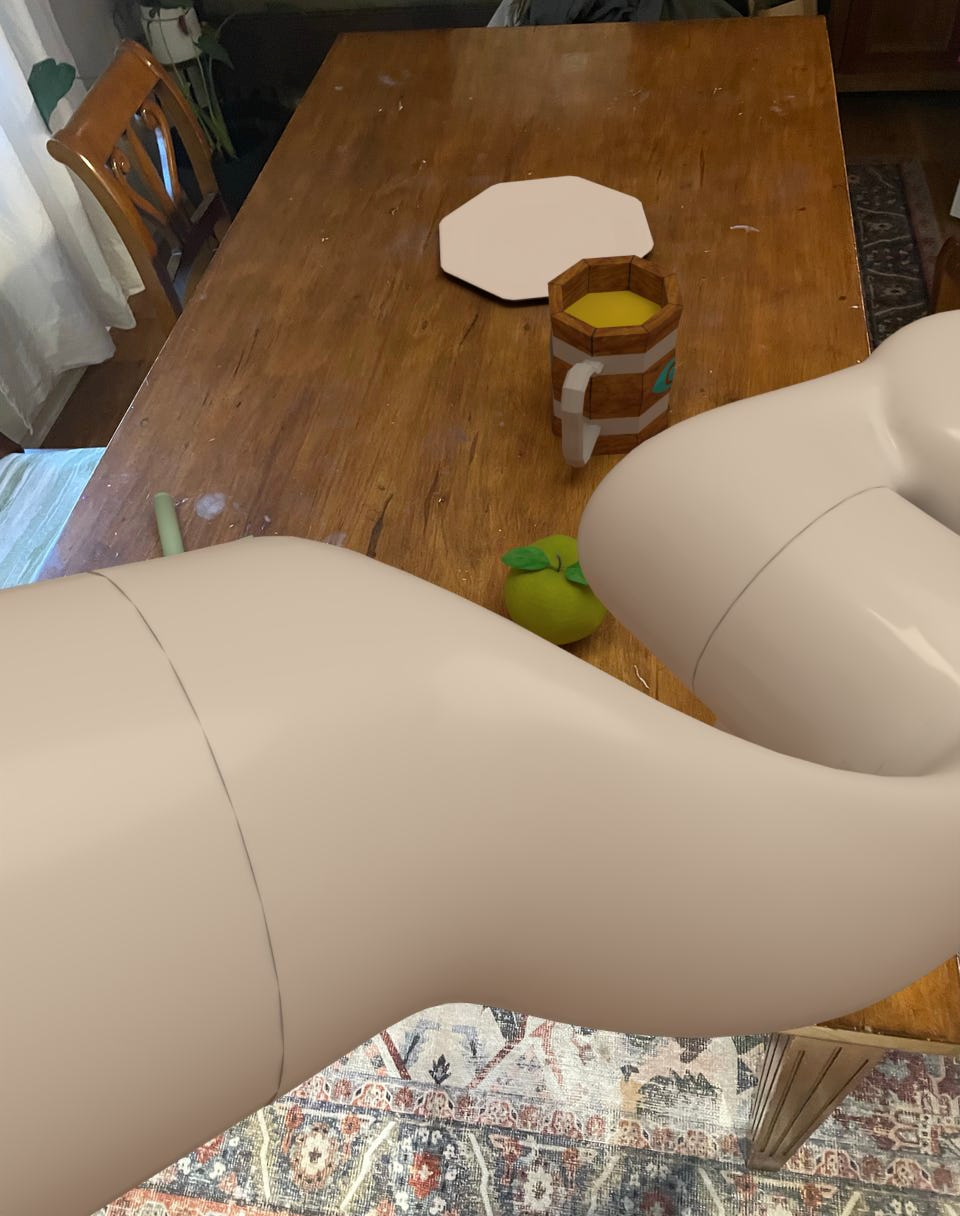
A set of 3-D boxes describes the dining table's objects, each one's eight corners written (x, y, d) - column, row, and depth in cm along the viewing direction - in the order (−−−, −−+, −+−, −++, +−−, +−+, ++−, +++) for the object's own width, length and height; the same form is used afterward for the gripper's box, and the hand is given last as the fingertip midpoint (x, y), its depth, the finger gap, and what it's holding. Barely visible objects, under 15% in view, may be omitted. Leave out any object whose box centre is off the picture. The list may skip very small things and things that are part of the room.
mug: (569, 363, 99) (570, 244, 87) (684, 386, 95) (701, 265, 83) (507, 480, 89) (498, 364, 77) (633, 511, 85) (644, 394, 73)
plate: (399, 258, 114) (397, 248, 113) (531, 168, 125) (530, 158, 124) (558, 333, 102) (558, 323, 101) (689, 227, 113) (690, 217, 112)
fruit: (587, 678, 74) (590, 613, 66) (492, 643, 77) (484, 576, 69) (626, 600, 79) (633, 530, 71) (534, 569, 82) (531, 499, 74)
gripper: (728, 792, 29) (679, 924, 43) (1140, 620, 32) (967, 798, 46) (630, 628, 34) (614, 796, 48) (999, 487, 36) (880, 687, 50)
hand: (787, 797), depth 47 cm, fingers open, 9 cm apart
